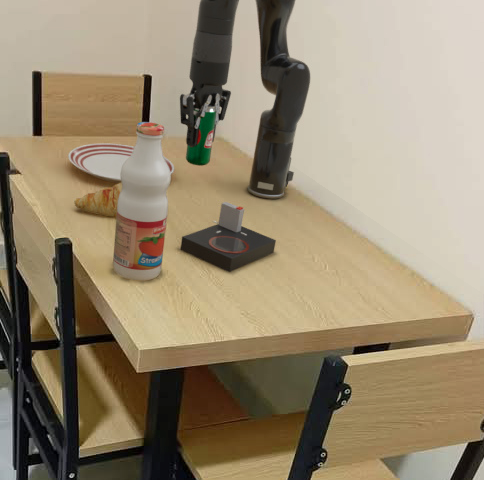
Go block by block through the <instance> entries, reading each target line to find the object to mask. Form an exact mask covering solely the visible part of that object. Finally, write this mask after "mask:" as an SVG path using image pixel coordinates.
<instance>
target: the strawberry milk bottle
mask: <svg viewBox="0 0 484 480" xmlns="http://www.w3.org/2000/svg"><path fill="white" fill-rule="evenodd" d="M135 134H136V142H135V145H134V146H133V147H134V150H133V152H132V154H131V156H130V157H129V158H128V159H127V160H126V161H125V162H124V164H123V165H122V168H121V174H120V176H121V183H122V190H121V192H120V194H119V197H118V204H117V216H116V217H115V229H114V230H115V232H114V233H115V234H114V244H113V255H112V256H113V257H112V268H113V272H114V273H116V275H117V276H119V277H121V278H123V279H127V280H131V281H137V282H139V281H141V282H142V281H144V282H145V281H150V280H153V279H155V278H157V277H158V276H159V275H160V273H161V270H162V266H163V265H162V264H163V258H164V257H163V256H164V249H165V239H166V231H167V223H168V222H167V221H168V213H169V198H168V195H167V192H168V189H169V187H170V184H171V182H172V181H171V180H172V174H171V172H170V168H169V166H168V165H167V163H166V161H165V159H164V157H165V156H164V151H163V145H162V139H163V138H164V135H165V127H164V125H162V124H160V123H156V122H149V121H140V122H138V123H136V127H135Z"/></svg>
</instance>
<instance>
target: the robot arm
mask: <svg viewBox="0 0 484 480" xmlns="http://www.w3.org/2000/svg"><path fill="white" fill-rule="evenodd" d="M239 2H240V0H200V1H199V5H198V12H197V19H196V30H195V35H194V38H193V42H192V43H193V44H192V52H191V60H190V69H189V80H190V81H191V82H192V86H191V88H190V92H189V93H187V94H183V93H181V94H180V96H179V111H180V112H179V114H180V124H182V125H185V126H186V127H187V129H186V130H187V131H186V139H185V143H186V146H187V145H189V146H191V147H195V146H197V140H198V132H199V129H198V127H199V124H200V122H201V118H204V116H205V112H206V110H207V107H208V105H209V106H212V105H213V106H214V105H216V106H215V108H216V110H217V113H216V120H215V127H214V134H213V141H212V143H214V141H215V136H216V130H217V125H219V122H220V121H224V120H225V116H226V113H227V109H228V105H229V102H230V99H231V95H232V91H231V90H228V89H224V88H223V86H225V85H227V83H228V78H229V72H230V65H231V57H232V51H233V36H234V35H233V34H234V29H235V22H236V21H235V20H236V13H237V9H238V5H239ZM295 5H296V0H255V6H256V14H257V25H258V35H259V52H260V54H259V57H260V59H259V60H260V61H259V62H260V68H259V69H260V80H261V84H262V86H263V88H264V89H265V90H266V91H267V92H268V93H269V94H271V95H273V96H275V98H274V102H273V106H272V108H271V109H266V110H263V111H262V112H261V114H260V118H259V124H258V130H257V134H256V135H257V136H256V142H255V147H254V153H253V159H252V164H251V170H250V176H249V182H248V185H247V191H248V193H250V194H251V195H254V196H255V197H259V198H263V199H272V200H274V199H275V200H276V199H280V198H283V197H284V195H285V193H286V188H287V187H288V184H289V182H292V181H293V178H294V173H295V172H294V171H291V170H290V167H291V163H292V152H293V147H294V141H295V136H296V132H297V127H298V124H299V122H300V120H301V118H302V116H303V113H304V110H305V106H306V101H307V98H308V95H309V90H310V86H311V70H310V68H309V66H308V64H306V63H305V62H304V61H303V60H300V59H296V58H294V57H291V56H290V51H289V47H288V46H289V44H288V25H289V22H290V19H291V18H292V17H291V16H292V14H293V11H294V8H295ZM194 107H195V108H197V109H200V112H197V111H194ZM220 108H221V109H220ZM194 115H196V120H195V121H194Z"/></svg>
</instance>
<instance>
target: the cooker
mask: <svg viewBox="0 0 484 480" xmlns="http://www.w3.org/2000/svg"><path fill="white" fill-rule="evenodd" d="M212 223H215V224H214V225H211V226H209V227H206V228H203V229H200V230H197V231H194V232H192V233H188V234H186V235H184V236H181V243H180V251H182V252H184V253H187V254H189V255H190V256H193V257H196V258H197V259H199V260H202V261H204V262H206V263H208V264H210V265H213V266H214V267H217V268H220V269H221V270H224V271H226V272H228V273H231V272H233V271H235V270H238V269H240V268H243V267H244V266H247V265H249V264H252V263H254V262H256V261H258V260H260V259H263V258H265V257H268V256H270V255H272V254H274V252H275V248H276V244H277V243H276V242H277V240H276V239H274V238H272V237H269V236H267V235H264V234H263V233H259V232H257V231H254V230H253V229H250V228H247V227H245V226H243V225H242V226H241V231H239V232H234V231H232V230H229V229H227V228H224V227H222V226H220V225H218V223H219V221H216V220H212ZM217 236H229V237H234V238H238V239H240V240H243V241H244V242H246V243H247V244H248V245H249V249H248V251H246V252H244V253H238V254H232V253H225V252H221V251H218V250H216V249H214V248H212V247H211V246H210V245H209V240H210V239H211V238H213V237H217Z"/></svg>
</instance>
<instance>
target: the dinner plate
mask: <svg viewBox="0 0 484 480" xmlns="http://www.w3.org/2000/svg"><path fill="white" fill-rule="evenodd" d="M134 147H135V146H132V145H128V144H127V145H126V144H120V143H109V142H108V143H107V142H106V143H105V142H104V143H102V142H101V143H100V142H99V143H88V144H84V145H79V146H77V147H75V148H73V149H72V150H70V151H69V152H68V154H67V158H68V160H69V161H70V164H72V165H73V166H74V167H76V168H77V169H79V170H80V171H82V172H84V173H86V174H88V175H90V176H92V177H95V178H97V179H99V180H103V181H106V182H111V183H115V184H118V183H121V176H120V174H121V168H122V165H123V164H124V162H125V161H126V160H127V159H128V158H129V157H130V156H131V154H132V152H133V150H134ZM164 159H165V161H166V163H167V165H168V166H169V168H170V172H171V175H173V174H174V172H175V165H174V163H173V162H172V161H171V160H170V159H169V158H167V157H165V156H164Z"/></svg>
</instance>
